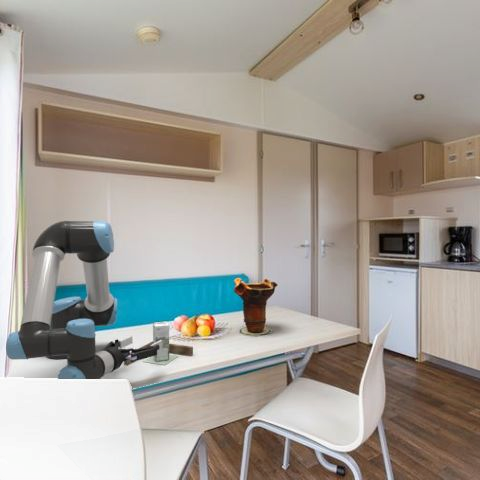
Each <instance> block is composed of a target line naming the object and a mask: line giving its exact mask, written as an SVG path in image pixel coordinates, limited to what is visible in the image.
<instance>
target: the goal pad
mask: <svg viewBox="0 0 480 480" xmlns="http://www.w3.org/2000/svg"><path fill="white" fill-rule="evenodd" d="M178 357H179V356H178V355H176V354H169V360H164V361H157V362H155V360H154V357H153V356H152V357H148V358H145V360H143V361H142V362H143V363H148V364H154V365H161V366H166V365H167V364H168V363H171V362H172V361H174V359H176V358H178Z"/></svg>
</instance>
